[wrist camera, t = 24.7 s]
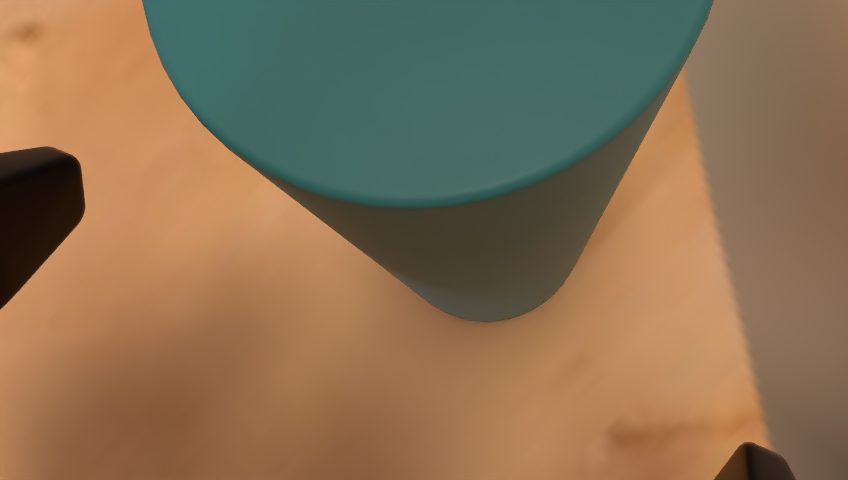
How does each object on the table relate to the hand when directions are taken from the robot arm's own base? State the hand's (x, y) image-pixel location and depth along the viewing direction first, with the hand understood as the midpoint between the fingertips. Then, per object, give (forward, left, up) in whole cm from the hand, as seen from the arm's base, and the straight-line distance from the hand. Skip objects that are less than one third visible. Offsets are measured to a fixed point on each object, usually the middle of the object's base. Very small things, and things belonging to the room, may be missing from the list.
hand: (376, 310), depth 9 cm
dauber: (+3, +1, -9) cm, 9 cm away
